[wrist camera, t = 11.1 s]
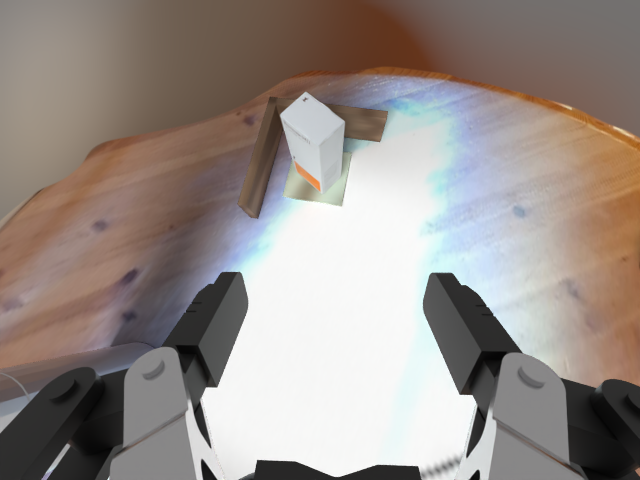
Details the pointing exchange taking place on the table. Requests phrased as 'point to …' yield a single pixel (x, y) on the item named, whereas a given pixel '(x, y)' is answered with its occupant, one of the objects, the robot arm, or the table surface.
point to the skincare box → (314, 141)
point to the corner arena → (356, 126)
